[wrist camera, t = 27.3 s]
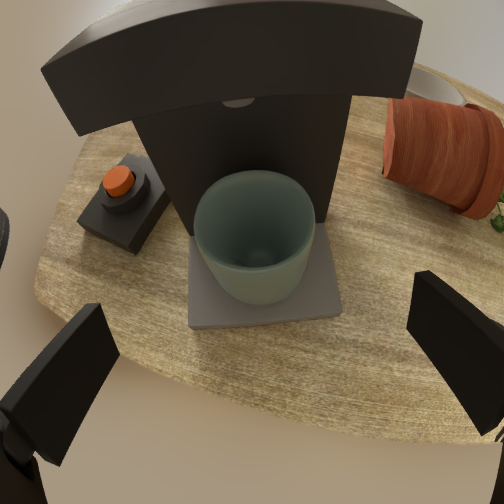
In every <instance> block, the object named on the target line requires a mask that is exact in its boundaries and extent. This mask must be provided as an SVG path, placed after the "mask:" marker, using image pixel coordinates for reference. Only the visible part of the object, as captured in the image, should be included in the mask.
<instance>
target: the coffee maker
mask: <svg viewBox="0 0 504 504" xmlns="http://www.w3.org/2000/svg"><path fill="white" fill-rule="evenodd" d="M422 24H423V21H422V20H421V19H419V18H418V17H416V16H414V15H412V14H411V13H409V12H407V11H406V10H404V9H402V8H400V7H398V6H396V5H394V4H392V3H390V2H389V1H386V0H134V1H131V2H128V3H126V4H123V5H120V6H118V7H116V8H115V9H113V10H111V11H110V12H108V13H107V14H106V15H104V16H103V17H101V18H100V19H98V20H97V21H96V22H94V23H93V24H92V25H90V26H89V27H88V28H86V29H85V30H84V31H82V32H81V33H80V34H79V35H77V36H76V37H75V38H74V39H73V40H71V41H70V42H69V43H68V44H67V45H65V46H64V47H63V48H62V49H61V50H60V51H59V52H57V53H56V54H55V55H54V56H53V57H52V58H51V59H50V60H49V61H48V62H47V63H46V64H45V65H44V66H43V67H42V68H41V72H42V74H43V76H44V78H45V80H46V81H47V83H48V85H49V87H50V89H51V91H52V92H53V94H54V96H55V97H56V99H57V101H58V103H59V104H60V106H61V108H62V110H63V111H64V113H65V115H66V116H67V118H68V120H69V121H70V122H71V125H72V126H73V128H74V129H75V131H76V133H77V134H78V136H83V135H86V134H89V133H92V132H95V131H98V130H101V129H104V128H107V127H110V126H113V125H117V124H120V123H124V122H127V121H131V120H132V122H133V124H134V126H135V128H136V131H137V133H138V135H139V137H140V139H141V141H142V143H143V145H144V147H145V149H146V152H147V154H148V156H149V158H150V160H151V162H152V164H153V166H154V168H155V170H156V172H157V174H158V176H159V178H160V180H161V182H162V184H163V186H164V188H165V190H166V192H167V194H168V196H169V197H170V199H171V201H172V203H173V205H174V207H175V209H176V211H177V213H178V215H179V217H180V219H181V220H182V222H183V224H184V226H185V228H186V230H187V232H188V234H189V235H190V241H189V276H188V327H190V328H191V329H192V330H200V329H218V328H233V327H247V326H258V325H269V324H279V323H288V322H297V321H306V320H314V319H321V318H329V317H336V316H339V315H340V314H341V313H342V312H343V311H342V306H341V300H340V294H339V289H338V283H337V278H336V273H335V268H334V263H333V258H332V253H331V248H330V244H329V239H328V235H327V230H326V226H325V223H324V222H325V218H326V215H327V211H328V207H329V203H330V199H331V194H332V190H333V186H334V182H335V177H336V173H337V169H338V164H339V160H340V155H341V150H342V146H343V141H344V136H345V131H346V126H347V120H348V115H349V110H350V104H351V99H352V95H356V96H373V97H385V98H395V99H404V96H405V92H406V89H407V85H408V82H409V78H410V75H411V71H412V67H413V63H414V59H415V55H416V51H417V46H418V43H419V38H420V34H421V29H422ZM251 170H265V171H271V172H277V173H280V174H283V175H286V176H288V177H290V178H291V179H293V180H295V181H296V182H297V183H298V184H300V185H301V186H302V187H303V188H304V190H305V191H306V192H307V194H308V195H309V197H310V199H311V202H312V204H313V208H314V213H315V235H314V240H313V244H312V248H311V253H310V257H309V261H308V264H307V268H306V270H305V273H304V275H303V277H302V279H301V281H300V283H299V285H298V287H297V288H296V289H295V290H294V292H293V293H292V294H291V295H289V296H288V297H287V298H285V299H284V300H282V301H280V302H278V303H275V304H271V305H264V306H256V305H249V304H245V303H242V302H240V301H238V300H236V299H234V298H232V297H231V296H230V295H228V294H227V293H226V292H225V291H224V290H223V289H222V288H221V287H220V285H219V284H218V283H217V281H216V280H215V278H214V277H213V276H212V274H211V272H210V271H209V269H208V267H207V265H206V264H205V262H204V260H203V258H202V256H201V254H200V252H199V249H198V246H197V244H196V241H195V235H194V216H195V212H196V208H197V206H198V204H199V201H200V199H201V197H202V196H203V195H204V193H205V192H206V191H207V189H208V188H209V187H211V186H212V185H213V184H214V183H215V182H217V181H218V180H220V179H222V178H223V177H226V176H228V175H231V174H234V173H238V172H242V171H251Z"/></svg>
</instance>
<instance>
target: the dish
mask: <svg viewBox="0 0 504 504" xmlns="http://www.w3.org/2000/svg"><path fill="white" fill-rule="evenodd" d="M405 96H408V97H415V98H422V99H428V100H434V101H439V102H444V103H449V104H454V105H458V106H462V107H463V106H465V105H466V99H465V97H464V96H463V94H462V93H461V92H460V91H459V90H458V89H457V88H456V87H454V86H453V85H452V84H450V83H449V82H448V81H446V80H444V79H443V78H441V77H439V76H437V75H435V74H433V73H431V72H429V71H427V70H424V69H421V68H418V67H415V66H413V67H412V71H411V75H410V78H409V82H408V85H407V89H406V92H405Z"/></svg>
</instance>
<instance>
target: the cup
mask: <svg viewBox="0 0 504 504" xmlns="http://www.w3.org/2000/svg"><path fill="white" fill-rule="evenodd" d="M194 235H195V241H196V244H197V246H198V249H199V252H200V254H201V256H202V258H203V260H204V262H205V264H206V265H207V267H208V269H209V271H210V272H211V274H212V276H213V277H214V278H215V280H216V281H217V283H218V284H219V285H220V287H221V288H222V289H223V290H224V291H225V292H226V293H227V294H228V295H230V296H231V297H232V298H234V299H236V300H238V301H240V302H242V303H245V304H249V305H256V306H264V305H271V304H275V303H278V302H280V301H282V300H284V299H285V298H287V297H288V296H289V295H291V294H292V293H293V292H294V290H295V289H296V288H297V287H298V285H299V283H300V281H301V279H302V277H303V275H304V273H305V270H306V268H307V264H308V261H309V257H310V253H311V248H312V244H313V240H314V235H315V213H314V208H313V204H312V202H311V199H310V197H309V195H308V194H307V192H306V191H305V190H304V188H303V187H302V186H301V185H300V184H298V183H297V182H296V181H295V180H293V179H291V178H290V177H288V176H286V175H283V174H280V173H277V172H271V171H265V170H251V171H242V172H238V173H234V174H231V175H228V176H226V177H223V178H222V179H220V180H218V181H217V182H215V183H214V184H213V185H212V186H211V187H209V188H208V189H207V191H206V192H205V193H204V195H203V196H202V197H201V199H200V201H199V204H198V206H197V208H196V212H195V216H194Z"/></svg>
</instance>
